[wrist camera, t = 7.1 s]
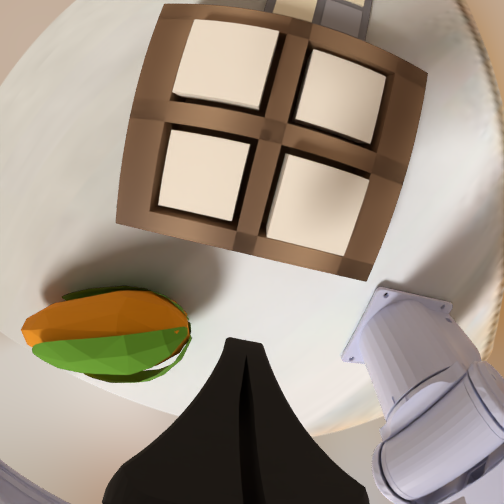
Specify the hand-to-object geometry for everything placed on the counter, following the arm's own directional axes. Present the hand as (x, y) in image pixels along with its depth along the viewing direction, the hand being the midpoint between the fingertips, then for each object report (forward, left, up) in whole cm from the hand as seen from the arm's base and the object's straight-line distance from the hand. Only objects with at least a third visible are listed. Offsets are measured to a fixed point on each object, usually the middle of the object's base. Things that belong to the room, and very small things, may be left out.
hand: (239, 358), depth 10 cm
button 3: (+4, -5, -9) cm, 11 cm away
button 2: (-3, -12, -9) cm, 15 cm away
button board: (+1, -8, -10) cm, 13 cm away
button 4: (+4, -12, -8) cm, 15 cm away
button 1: (-3, -5, -8) cm, 10 cm away
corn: (+12, +10, -11) cm, 19 cm away
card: (0, -20, -10) cm, 22 cm away
